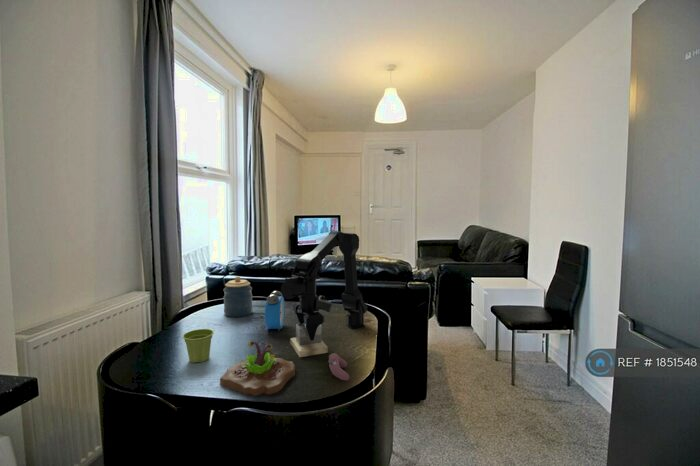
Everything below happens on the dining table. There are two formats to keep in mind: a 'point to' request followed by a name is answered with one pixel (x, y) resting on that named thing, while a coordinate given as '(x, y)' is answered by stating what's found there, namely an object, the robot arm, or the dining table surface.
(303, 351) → the beige tray
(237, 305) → the canister
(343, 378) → the video game controller
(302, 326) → the box
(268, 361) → the plant
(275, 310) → the alarm clock
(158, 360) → the dining table surface
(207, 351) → the plant pot
